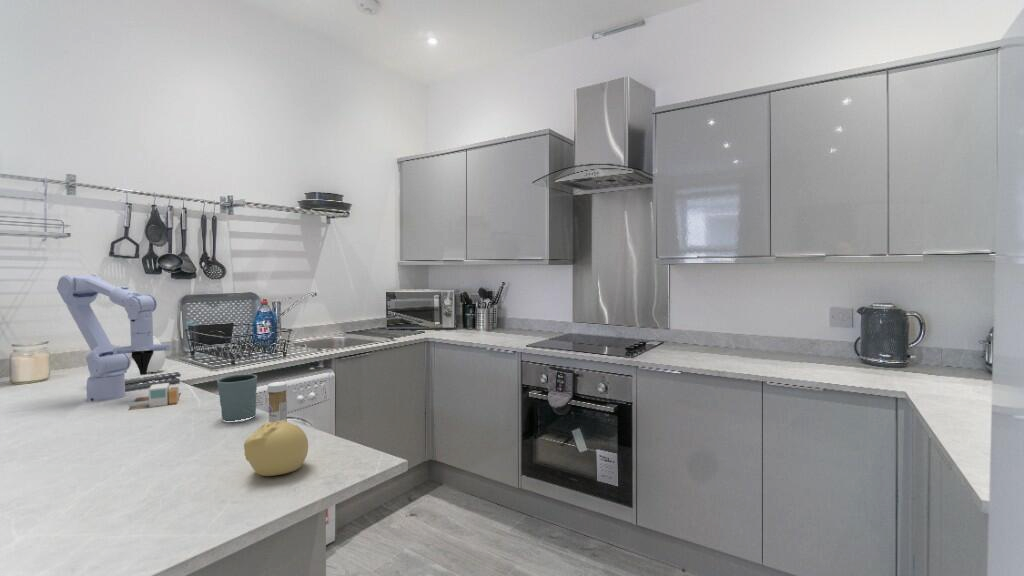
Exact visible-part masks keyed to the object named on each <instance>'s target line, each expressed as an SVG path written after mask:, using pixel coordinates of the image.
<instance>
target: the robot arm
mask: <svg viewBox="0 0 1024 576" xmlns="http://www.w3.org/2000/svg"><path fill="white" fill-rule="evenodd" d="M56 290H57V293H59V295H60V297H61V299H62V301H63V302H64V304H66V307H67V309H68V311H69V313H70V315H71V317H72V319H73V320H74V322H75V324H76V326H77V328H78V330H79V332H80V333H81V335H82V337H83V338H84V340H85V342H86V344H87V345H88V347H89V349H90V352H89V353H88V355H87V356H86V357H85V361H86V363H87V369H88V372H89V374H90V373H91V374H92V375H93V377H90V376H88V378H87V380H86V402H97V401H99V402H100V401H110V400H116V399H121V398H123V397H126V384H125V383H126V382H125V381H126V380H125V379H126V378H125V373H126V374H127V373H128V372H127V371H128V370H129V369H130V367H131V362H132V361H131V358H132V359H133V361H134V363H135V365H136V366H137V368H138V372H139V376H146V375H147V373H148V371H147V368H148V364H149V362H150V359H151V357H152V355H153V353H154V352H153V351H164V352H165V351H166V352H167V351H171V343H163V344H162V343H161V344H157V345H153V336H154V328H153V327H154V326H153V324H154V323H153V312H155V310H156V309H157V300H156V297H154V296H152V295H151V294H145V295H142V294H141V293H140V292H139V291H134V290H131V289H129V286H127V285H121V286H118V287H116V286H114V285H113V284H110V283H109V282H107V281H105V280H103V277H102V276H98V275H97V274H89V275H87V274H86V275H85V274H83V275H80V274H79V275H69V274H65V275H62V276H61V277H60V278H59V279H58V282H57V286H56ZM99 294H100V295H103V296H107V297H109V301H110V302H111V303H114V304H116V305H118V306H120V307H123V308H124V311H125V312H126V314H127V318H128V320H129V323H130V324H129V326H130V345H129V346H120V347H118V346H119V345H115V344H112V342H111V340H110V338H109V337H108V336H107V334H106V332H105V330H104V328H103V327H102V324H101V322H100V321H99V319H98V318H97V315H96V313H95V312H94V310H93V308H92V307H91V303H93V302H95V300H96V299H97V297H98V296H99ZM146 349H150V350H146ZM153 349H154V350H153ZM143 352H144V353H143ZM128 354H131V355H130V356H131V357H130V356H129V355H128Z"/></svg>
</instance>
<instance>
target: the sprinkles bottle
mask: <svg viewBox="0 0 1024 576" xmlns="http://www.w3.org/2000/svg"><path fill="white" fill-rule="evenodd" d="M287 388H288V385H287V382H286V381H275V382H270V383H267V392H268V423H269V422H271V423H272V422H278V421H282V420H286V422H287V421H288V413H287V412H288V408H287V407H288V406H287V405H288V403H287V401H288V400H287ZM287 423H288V422H287Z"/></svg>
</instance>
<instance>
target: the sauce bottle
mask: <svg viewBox="0 0 1024 576" xmlns="http://www.w3.org/2000/svg"><path fill="white" fill-rule="evenodd" d="M157 344H162V343H161V341H160V340H159V339H157V336H155V335H153V345H157ZM146 350H150V349H146ZM153 350H154V349H153ZM153 352H154V353H153V355H152V357H151V359H150V362H149V364H148V368H147V373H151V372H156V373H157V372H160V370H162V368H163V367H164V365H165V361H166V353H165V351H153ZM143 353H144V352H143Z"/></svg>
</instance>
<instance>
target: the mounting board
mask: <svg viewBox="0 0 1024 576" xmlns="http://www.w3.org/2000/svg"><path fill="white" fill-rule="evenodd" d="M181 394H182V392H179V398H181ZM148 400H149V395H148V396H139V397H136V398H135V399H134V401H133V402H140V401H148ZM174 405H177V404H169V403H168V405H163V406H162V407H165V406H166V407H167V406H174ZM158 407H159V408H160V407H161V406H155V407H154V408H158ZM150 408H151V409H152V408H153V407H149V406H143V407H135V408H128V411H133V410H142V409H150Z"/></svg>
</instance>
